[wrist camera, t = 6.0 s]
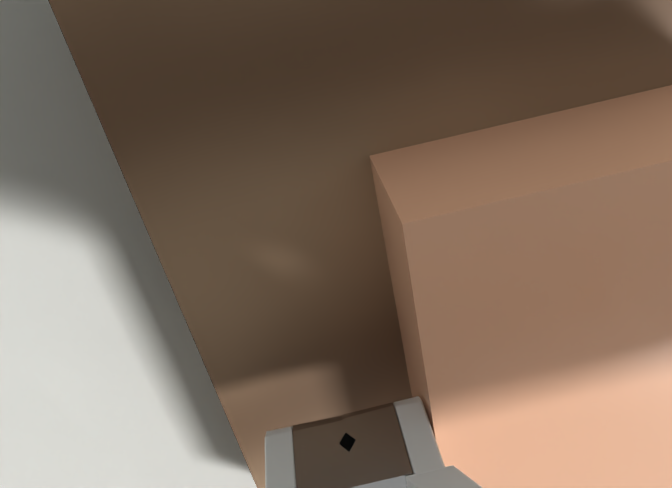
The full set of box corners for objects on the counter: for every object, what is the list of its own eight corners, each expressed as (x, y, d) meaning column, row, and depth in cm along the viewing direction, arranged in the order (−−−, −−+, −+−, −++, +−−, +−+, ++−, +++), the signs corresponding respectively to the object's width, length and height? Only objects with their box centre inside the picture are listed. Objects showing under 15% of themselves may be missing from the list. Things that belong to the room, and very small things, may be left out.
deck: (102, -29, 11) (45, -8, 8) (607, -145, 11) (741, -169, 8) (294, 486, 19) (302, 593, 16) (583, 417, 19) (644, 510, 16)
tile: (369, 155, 10) (402, 223, 8) (709, 75, 10) (837, 121, 8) (427, 483, 14) (458, 583, 12) (657, 428, 14) (729, 517, 12)
